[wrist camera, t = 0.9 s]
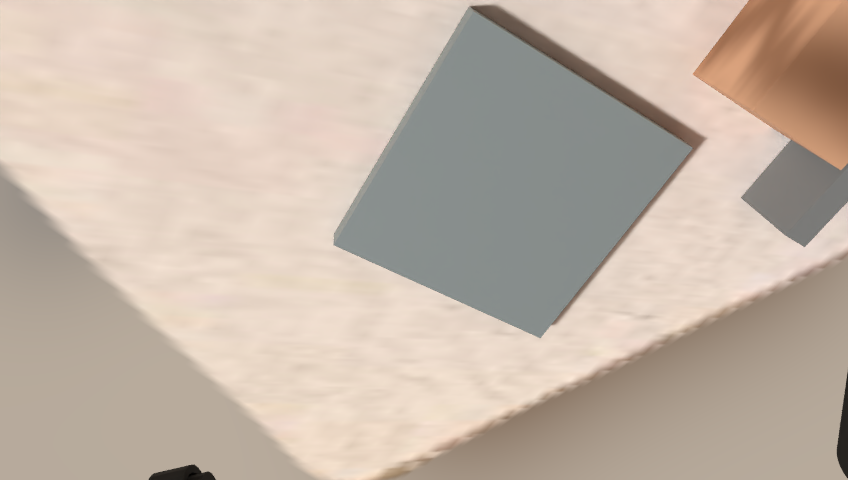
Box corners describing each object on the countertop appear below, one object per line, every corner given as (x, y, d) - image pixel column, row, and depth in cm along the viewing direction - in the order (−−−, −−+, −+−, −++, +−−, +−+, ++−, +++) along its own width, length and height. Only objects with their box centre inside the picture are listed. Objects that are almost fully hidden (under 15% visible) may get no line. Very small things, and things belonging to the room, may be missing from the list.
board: (469, 6, 32) (473, 11, 31) (683, 140, 36) (693, 148, 35) (333, 234, 37) (333, 245, 36) (535, 326, 42) (540, 338, 41)
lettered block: (773, -34, 32) (855, -14, 27) (856, 32, 34) (946, 61, 29) (691, 73, 35) (752, 110, 29) (774, 129, 37) (844, 172, 31)
